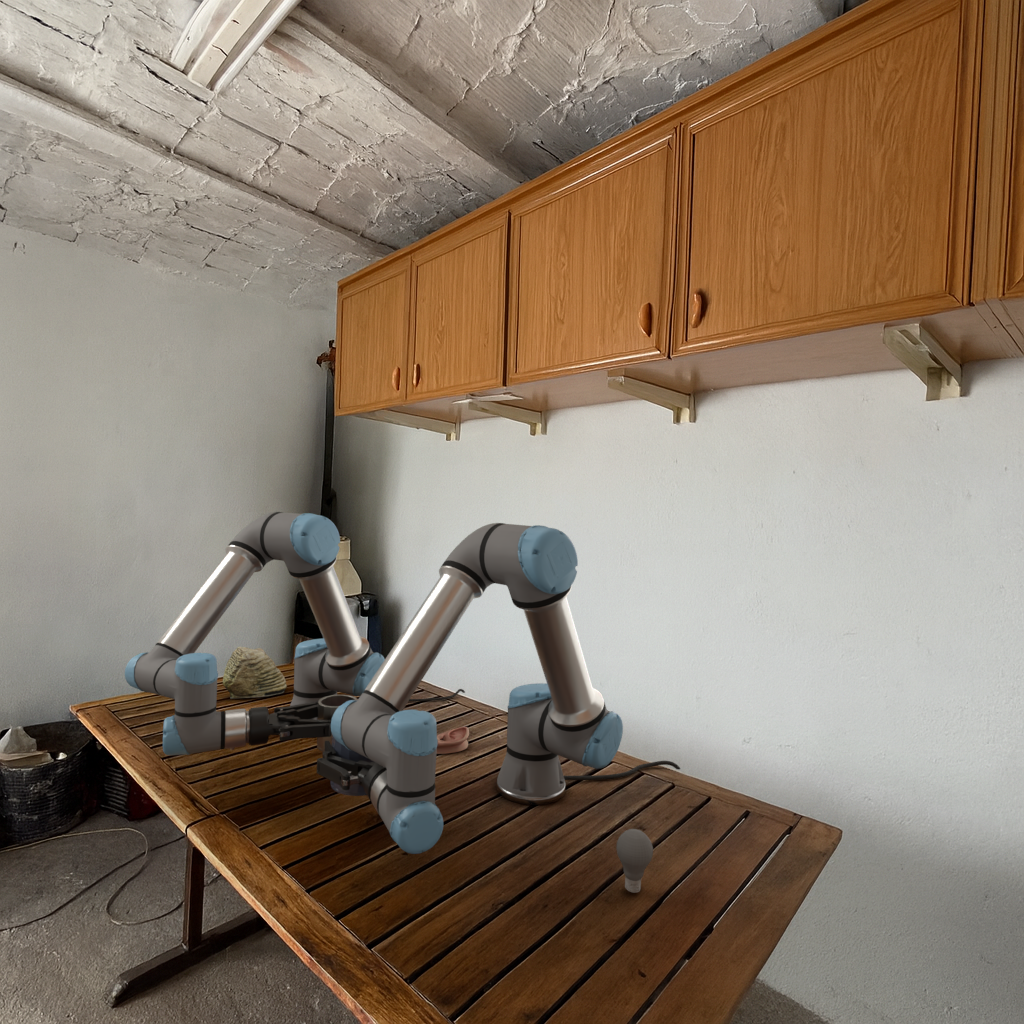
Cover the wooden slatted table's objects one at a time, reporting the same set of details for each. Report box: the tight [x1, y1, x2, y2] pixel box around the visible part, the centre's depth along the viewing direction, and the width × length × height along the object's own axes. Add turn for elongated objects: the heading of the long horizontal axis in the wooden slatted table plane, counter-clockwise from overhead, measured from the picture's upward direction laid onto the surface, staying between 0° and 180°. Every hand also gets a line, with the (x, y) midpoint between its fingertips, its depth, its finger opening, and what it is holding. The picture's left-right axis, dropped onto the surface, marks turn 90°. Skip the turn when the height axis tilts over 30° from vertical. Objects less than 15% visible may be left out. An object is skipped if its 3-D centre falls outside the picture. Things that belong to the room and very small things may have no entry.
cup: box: [316, 694, 358, 753], centre depth 139 cm, size 8×8×10 cm
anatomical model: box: [436, 726, 470, 755], centre depth 164 cm, size 13×4×12 cm
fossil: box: [222, 646, 288, 699], centre depth 198 cm, size 9×18×15 cm, turn 132°
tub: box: [330, 735, 374, 797], centre depth 123 cm, size 12×12×11 cm
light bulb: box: [615, 828, 654, 894], centre depth 106 cm, size 6×6×10 cm
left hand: (357, 713), depth 141 cm, fingers closed on cup, 8 cm apart
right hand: (358, 742), depth 126 cm, fingers closed on tub, 12 cm apart
